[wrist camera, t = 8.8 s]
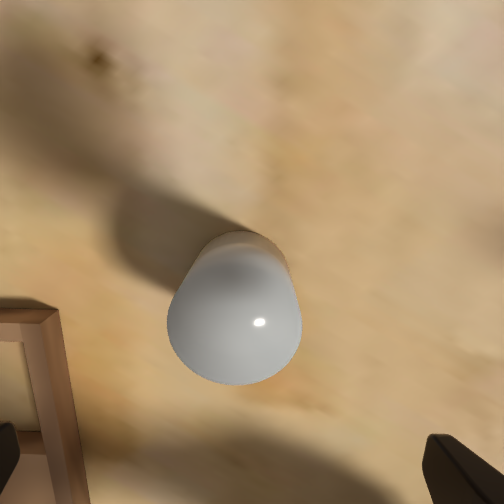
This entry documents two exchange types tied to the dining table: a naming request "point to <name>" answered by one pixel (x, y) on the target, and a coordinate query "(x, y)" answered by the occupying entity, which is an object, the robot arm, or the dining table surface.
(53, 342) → the walnut caddy
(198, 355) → the salt cellar
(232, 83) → the dining table surface
